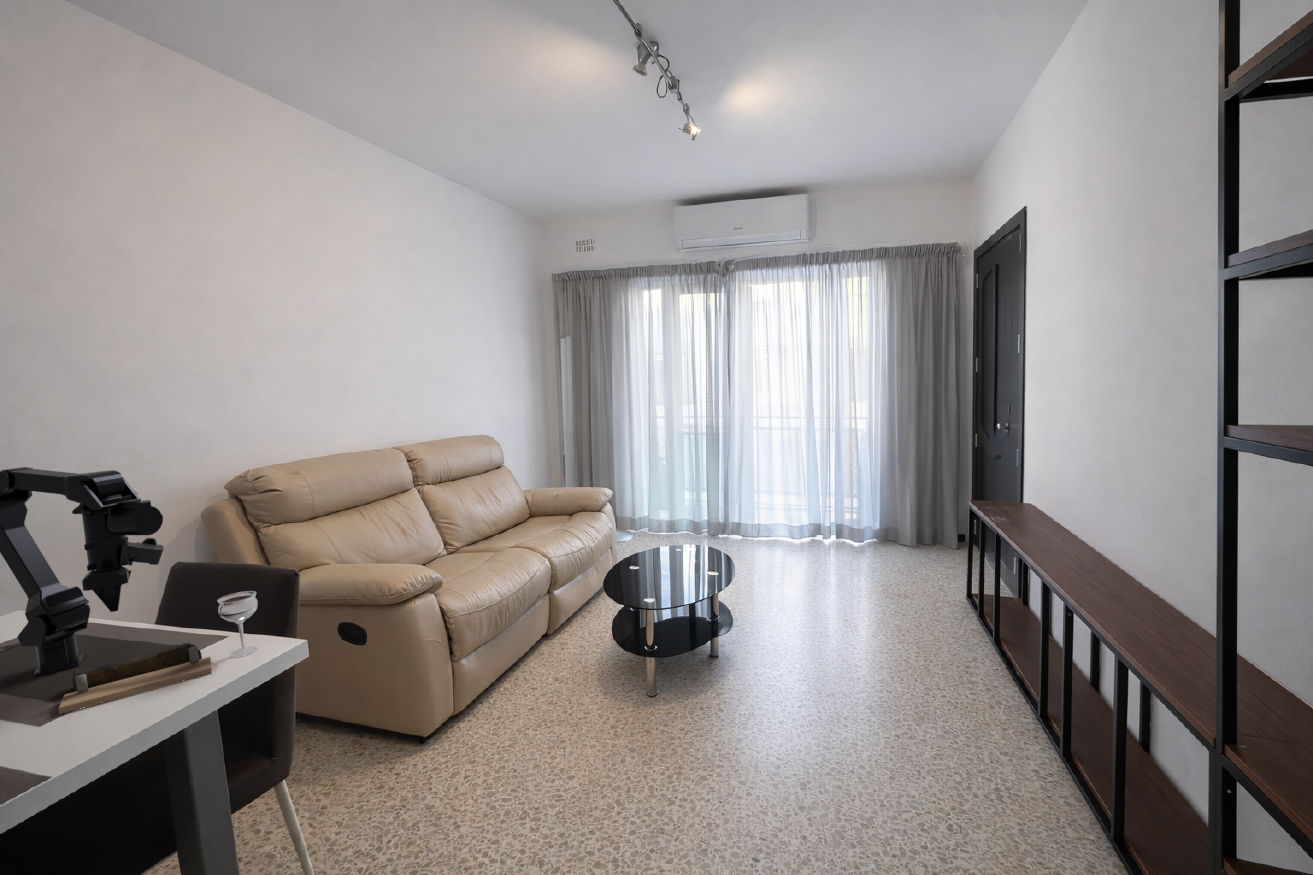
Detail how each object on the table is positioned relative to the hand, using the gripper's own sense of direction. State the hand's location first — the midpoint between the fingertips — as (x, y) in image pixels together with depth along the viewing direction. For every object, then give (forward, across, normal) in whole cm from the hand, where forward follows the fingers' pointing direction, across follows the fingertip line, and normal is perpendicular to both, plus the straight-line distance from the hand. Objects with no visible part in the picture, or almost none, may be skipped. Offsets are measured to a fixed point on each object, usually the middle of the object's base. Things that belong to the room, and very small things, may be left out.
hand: (114, 610), depth 117 cm
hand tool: (+12, -7, -3) cm, 14 cm away
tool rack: (+12, -14, -4) cm, 19 cm away
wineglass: (+12, -10, -20) cm, 25 cm away
